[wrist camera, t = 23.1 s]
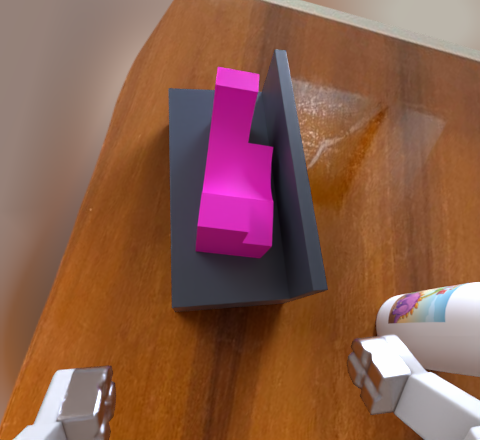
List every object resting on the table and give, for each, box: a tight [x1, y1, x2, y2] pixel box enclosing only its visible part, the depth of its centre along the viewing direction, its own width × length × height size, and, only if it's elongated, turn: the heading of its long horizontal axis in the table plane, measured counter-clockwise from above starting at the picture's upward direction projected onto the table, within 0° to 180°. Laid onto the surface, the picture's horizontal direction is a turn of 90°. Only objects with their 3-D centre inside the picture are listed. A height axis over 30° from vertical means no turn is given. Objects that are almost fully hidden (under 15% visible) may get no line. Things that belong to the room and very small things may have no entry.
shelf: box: [169, 50, 328, 312], centre depth 32 cm, size 12×24×12 cm, turn 5°
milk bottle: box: [376, 282, 480, 377], centre depth 27 cm, size 8×8×20 cm
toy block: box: [195, 67, 273, 258], centre depth 29 cm, size 15×6×8 cm, turn 176°
